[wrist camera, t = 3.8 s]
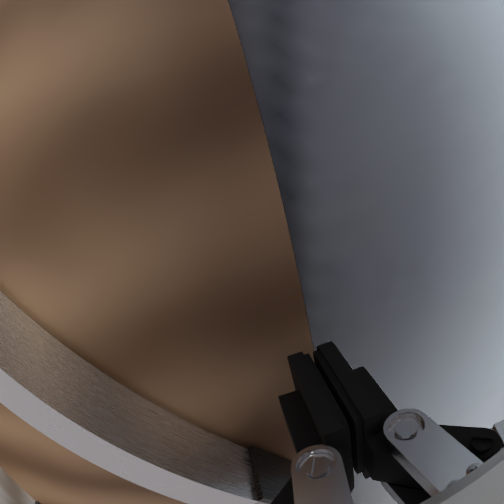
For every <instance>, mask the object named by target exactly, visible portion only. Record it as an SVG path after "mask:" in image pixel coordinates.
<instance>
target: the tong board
mask: <svg viewBox="0 0 504 504" xmlns="http://www.w3.org/2000/svg"><path fill="white" fill-rule="evenodd" d="M0 291H1V292H2V293H3V294H4V295H5V296H6V297H7V298H9V299H10V300H11V301H12V302H13V303H14V304H15V305H16V306H17V307H18V308H20V309H21V310H22V311H23V312H24V313H25V314H26V315H28V316H29V317H30V318H31V319H32V320H34V321H35V322H36V323H37V324H38V325H40V326H41V327H42V328H43V329H44V330H46V331H47V332H48V333H49V334H51V335H52V336H53V337H55V338H56V339H57V340H58V341H60V342H61V343H62V344H64V345H65V346H66V347H68V348H69V349H70V350H72V351H73V352H74V353H76V354H77V355H79V356H80V357H81V358H83V359H84V360H86V361H87V362H88V363H90V364H91V365H93V366H94V367H96V368H97V369H99V370H100V371H102V372H103V373H105V374H106V375H108V376H109V377H111V378H112V379H114V380H115V381H117V382H119V383H120V384H122V385H123V386H125V387H127V388H128V389H130V390H132V391H133V392H135V393H136V394H138V395H140V396H142V397H143V398H145V399H147V400H148V401H150V402H152V403H154V404H155V405H157V406H159V407H161V408H163V409H165V410H166V411H168V412H170V413H172V414H174V415H176V416H178V417H180V418H182V419H183V420H185V421H187V422H189V423H191V424H193V425H195V426H197V427H200V428H202V429H204V430H206V431H208V432H210V433H212V434H214V435H217V436H219V437H221V438H223V439H225V440H228V441H230V442H232V443H235V444H237V445H239V446H242V447H244V448H247V449H248V448H249V447H251V446H255V447H257V448H260V449H262V450H265V451H267V452H270V453H272V454H275V455H278V456H280V457H283V458H286V459H289V460H291V461H293V459H294V457H295V456H296V455H297V453H296V451H295V448H294V445H293V442H292V439H291V436H290V433H289V430H288V427H287V424H286V421H285V418H284V415H283V412H282V409H281V405H280V402H279V398H278V396H280V395H283V394H287V393H290V392H293V391H295V386H294V382H293V378H292V374H291V370H290V366H289V362H288V358H287V356H289V355H292V354H295V353H298V352H301V351H302V352H303V354H304V355H305V354H308V353H309V354H310V356H311V358H312V359H313V361H314V357H313V352H314V349H313V344H312V339H311V334H310V328H309V323H308V318H307V313H306V308H305V303H304V298H303V294H302V289H301V284H300V279H299V274H298V270H297V265H296V260H295V256H294V251H293V247H292V242H291V238H290V233H289V229H288V224H287V220H286V216H285V211H284V207H283V203H282V199H281V194H280V190H279V186H278V182H277V178H276V174H275V169H274V165H273V161H272V157H271V153H270V149H269V145H268V141H267V138H266V134H265V130H264V126H263V122H262V118H261V114H260V111H259V107H258V103H257V99H256V96H255V92H254V88H253V85H252V81H251V77H250V74H249V70H248V67H247V63H246V60H245V56H244V53H243V49H242V46H241V42H240V39H239V35H238V32H237V29H236V25H235V22H234V19H233V15H232V12H231V9H230V6H229V2H228V0H0ZM0 504H187V503H184V502H181V501H178V500H176V499H173V498H170V497H167V496H164V495H162V494H159V493H157V492H154V491H152V490H149V489H147V488H144V487H142V486H139V485H137V484H135V483H132V482H130V481H128V480H126V479H124V478H121V477H119V476H117V475H115V474H113V473H111V472H109V471H107V470H105V469H103V468H101V467H99V466H97V465H95V464H93V463H91V462H89V461H88V460H86V459H84V458H82V457H80V456H79V455H77V454H75V453H73V452H72V451H70V450H68V449H66V448H65V447H63V446H61V445H60V444H58V443H57V442H55V441H53V440H52V439H50V438H49V437H47V436H46V435H44V434H43V433H41V432H40V431H38V430H37V429H35V428H34V427H32V426H31V425H29V424H28V423H27V422H25V421H24V420H22V419H21V418H20V417H18V416H17V415H16V414H14V413H13V412H12V411H10V410H9V409H8V408H7V407H5V406H4V405H3V404H1V403H0Z"/></svg>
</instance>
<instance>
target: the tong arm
mask: <svg viewBox="0 0 504 504" xmlns="http://www.w3.org/2000/svg"><path fill="white" fill-rule="evenodd" d="M0 403H1V404H3V405H4V406H5V407H7V408H8V409H9V410H10V411H12V412H13V413H14V414H16V415H17V416H18V417H20V418H21V419H22V420H24V421H25V422H27V423H28V424H29V425H31V426H32V427H34V428H35V429H37V430H38V431H40V432H41V433H43V434H44V435H46V436H47V437H49V438H50V439H52V440H53V441H55V442H57V443H58V444H60V445H61V446H63V447H65V448H66V449H68V450H70V451H72V452H73V453H75V454H77V455H79V456H80V457H82V458H84V459H86V460H88V461H89V462H91V463H93V464H95V465H97V466H99V467H101V468H103V469H105V470H107V471H109V472H111V473H113V474H115V475H117V476H119V477H121V478H124V479H126V480H128V481H130V482H132V483H135V484H137V485H139V486H142V487H144V488H147V489H149V490H152V491H154V492H157V493H159V494H162V495H164V496H167V497H170V498H173V499H176V500H178V501H181V502H184V503H187V504H271V502H272V501H273V500H274V499H275V497H276V496H277V495H278V494H279V492H280V491H281V490H282V488H283V487H284V486H285V484H286V483H287V482H288V480H289V479H290V478H291V476H292V475H291V463H292V461H291V460H289V459H286V458H283V457H280V456H278V455H275V454H272V453H270V452H267V451H265V450H262V449H260V448H257V447H255V446H251V447H249V448H248V449H247V448H244V447H242V446H239V445H237V444H235V443H232V442H230V441H228V440H225V439H223V438H221V437H219V436H217V435H214V434H212V433H210V432H208V431H206V430H204V429H202V428H200V427H197V426H195V425H193V424H191V423H189V422H187V421H185V420H183V419H182V418H180V417H178V416H176V415H174V414H172V413H170V412H168V411H166V410H165V409H163V408H161V407H159V406H157V405H155V404H154V403H152V402H150V401H148V400H147V399H145V398H143V397H142V396H140V395H138V394H136V393H135V392H133V391H132V390H130V389H128V388H127V387H125V386H123V385H122V384H120V383H119V382H117V381H115V380H114V379H112V378H111V377H109V376H108V375H106V374H105V373H103V372H102V371H100V370H99V369H97V368H96V367H94V366H93V365H91V364H90V363H88V362H87V361H86V360H84V359H83V358H81V357H80V356H79V355H77V354H76V353H74V352H73V351H72V350H70V349H69V348H68V347H66V346H65V345H64V344H62V343H61V342H60V341H58V340H57V339H56V338H55V337H53V336H52V335H51V334H49V333H48V332H47V331H46V330H44V329H43V328H42V327H41V326H40V325H38V324H37V323H36V322H35V321H34V320H32V319H31V318H30V317H29V316H28V315H26V314H25V313H24V312H23V311H22V310H21V309H20V308H18V307H17V306H16V305H15V304H14V303H13V302H12V301H11V300H10V299H9V298H7V297H6V296H5V295H4V294H3V293H2V292H1V291H0Z"/></svg>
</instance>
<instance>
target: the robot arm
mask: <svg viewBox="0 0 504 504" xmlns="http://www.w3.org/2000/svg"><path fill="white" fill-rule="evenodd" d="M313 357H314V361H313V359H312V358H311V356H310V354H309V353H308V354H305V355H304V354H303V352H302V351H301V352H298V353H295V354H292V355H289V356H287V358H288V362H289V366H290V370H291V374H292V378H293V382H294V386H295V391H293V392H290V393H287V394H283V395H280V396H278V398H279V402H280V405H281V409H282V412H283V415H284V418H285V421H286V424H287V427H288V430H289V433H290V436H291V439H292V442H293V445H294V448H295V451H296V453H297V455H296V456H295V457H294V459H293V461H292V463H291V475H292V476H291V478H290V479H289V480H288V482H287V483H286V484H285V486H284V487H283V488H282V490H281V491H280V492H279V494H278V495H277V496H276V497H275V499H274V500H273V501H272V502H271V504H353V501H352V497H351V492H352V490H353V488H354V475H353V468H354V470H355V471H356V473H357V474H358V473H361V472H362V473H363V475H364V477H365V479H366V478H368V477H371V478H372V480H376V481H381V484H382V486H383V487H384V488H385V490H386V491H387V492H388V493H389V494H390V495H391V497H392V498H393V499H394V500H395V501H396V502H397V504H504V420H502V421H500V422H498V423H496V424H494V425H493V428H491V429H488V428H477V427H461V426H448V425H438V424H437V423H435V422H434V421H433V420H432V419H431V418H430V417H428V416H427V415H426V414H425V413H423V412H421V411H420V410H416V409H402V410H399V411H398V410H397V409H396V408H395V406H394V405H393V404H392V402H391V401H390V400H389V398H388V397H387V396H386V395H385V393H384V392H383V391H382V389H381V388H380V387H379V385H378V384H377V383H376V382H375V380H374V379H373V378H372V376H371V375H370V374H369V373H368V371H367V370H366V369H365V368H364V367H359V368H357V369H354V370H352V368H351V367H350V365H349V364H348V363H347V361H346V360H345V358H344V357H343V356H342V354H341V353H340V351H339V350H338V349H337V347H336V346H335V345H334V343H333V342H332V341H331V342H328V343H325V344H322V345H319V346H317V351H314V352H313Z"/></svg>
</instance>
